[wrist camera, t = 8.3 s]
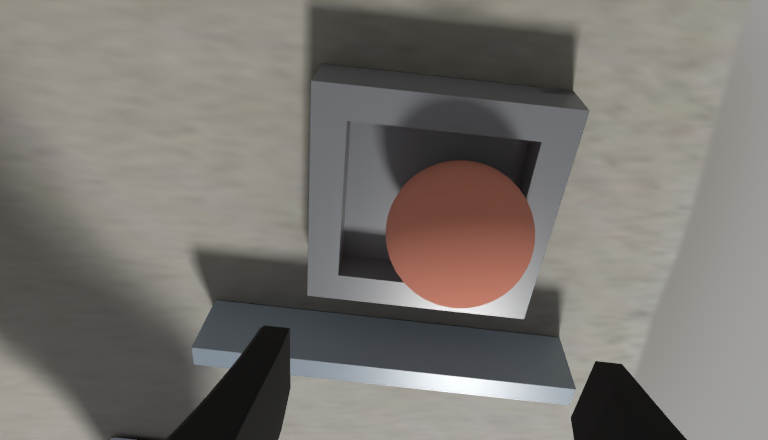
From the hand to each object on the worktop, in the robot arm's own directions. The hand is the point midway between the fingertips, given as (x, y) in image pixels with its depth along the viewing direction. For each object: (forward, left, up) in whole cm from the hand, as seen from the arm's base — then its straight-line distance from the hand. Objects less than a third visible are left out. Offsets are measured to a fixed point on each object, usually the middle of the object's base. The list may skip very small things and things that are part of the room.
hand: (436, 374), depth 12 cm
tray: (0, 0, -9) cm, 9 cm away
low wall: (-7, +1, -9) cm, 12 cm away
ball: (0, -1, -6) cm, 6 cm away
